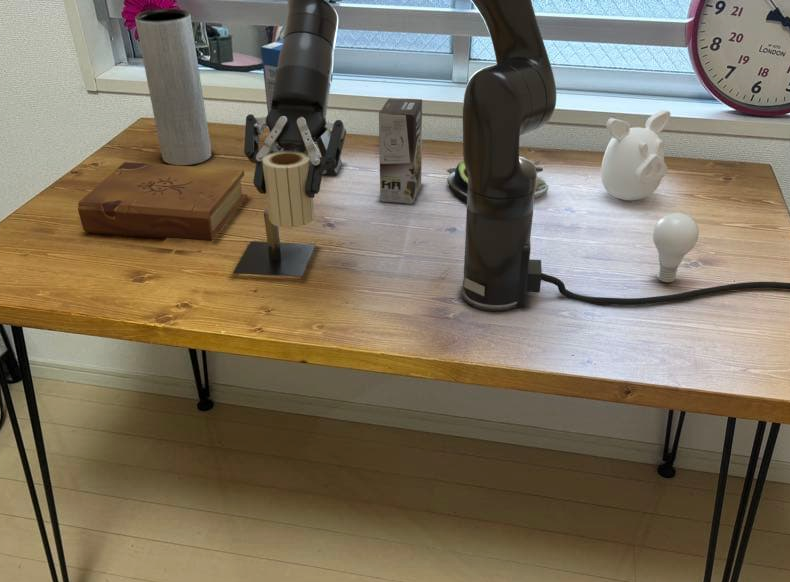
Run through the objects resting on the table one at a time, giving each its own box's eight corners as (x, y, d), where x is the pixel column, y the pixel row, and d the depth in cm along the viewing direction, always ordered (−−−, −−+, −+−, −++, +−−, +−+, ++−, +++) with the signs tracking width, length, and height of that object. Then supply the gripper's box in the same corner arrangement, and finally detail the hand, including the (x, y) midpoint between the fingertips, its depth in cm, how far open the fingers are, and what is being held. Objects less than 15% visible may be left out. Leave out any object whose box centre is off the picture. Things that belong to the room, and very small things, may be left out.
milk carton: (294, 153, 168) (285, 51, 155) (271, 147, 170) (260, 46, 158) (323, 138, 174) (316, 39, 162) (300, 133, 177) (292, 35, 165)
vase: (206, 166, 163) (183, 20, 146) (157, 166, 163) (128, 21, 146) (216, 148, 170) (195, 8, 154) (168, 148, 171) (142, 8, 154)
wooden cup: (317, 209, 116) (313, 151, 110) (308, 228, 111) (303, 168, 105) (275, 207, 116) (269, 149, 111) (264, 226, 111) (257, 166, 106)
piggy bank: (636, 217, 142) (652, 132, 132) (583, 197, 149) (594, 115, 139) (677, 198, 148) (694, 115, 139) (624, 179, 155) (637, 99, 146)
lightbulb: (679, 295, 120) (695, 227, 114) (638, 284, 123) (651, 217, 116) (691, 277, 125) (708, 211, 118) (651, 267, 127) (665, 201, 121)
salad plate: (518, 163, 162) (520, 140, 159) (571, 195, 149) (574, 171, 147) (433, 180, 156) (433, 157, 153) (481, 216, 143) (482, 191, 140)
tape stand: (316, 248, 134) (312, 197, 128) (302, 281, 125) (297, 228, 120) (251, 245, 135) (244, 194, 129) (233, 277, 126) (225, 224, 121)
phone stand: (342, 164, 162) (339, 104, 155) (336, 176, 158) (332, 114, 150) (298, 162, 164) (293, 102, 156) (291, 174, 159) (285, 112, 152)
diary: (84, 235, 138) (76, 203, 135) (131, 191, 153) (124, 162, 149) (212, 244, 135) (207, 212, 132) (247, 198, 150) (243, 168, 146)
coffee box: (413, 204, 147) (414, 115, 137) (379, 202, 148) (377, 112, 138) (422, 184, 154) (423, 98, 144) (389, 182, 155) (388, 96, 145)
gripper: (245, 60, 109) (225, 178, 107) (348, 65, 106) (330, 186, 105) (262, 88, 116) (244, 200, 114) (359, 94, 114) (342, 208, 112)
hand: (285, 193), depth 109 cm, fingers closed on wooden cup, 6 cm apart
